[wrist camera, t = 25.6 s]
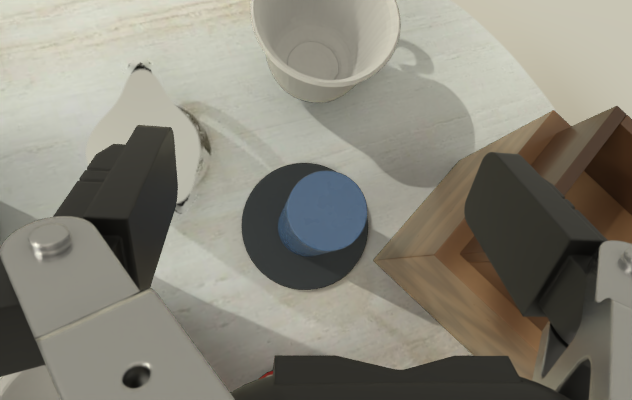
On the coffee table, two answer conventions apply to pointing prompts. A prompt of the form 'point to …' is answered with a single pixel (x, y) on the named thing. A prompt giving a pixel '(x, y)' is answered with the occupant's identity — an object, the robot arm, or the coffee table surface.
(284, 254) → the coaster
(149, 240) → the robot arm
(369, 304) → the coffee table surface
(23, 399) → the dish
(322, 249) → the blue tin
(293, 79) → the teacup
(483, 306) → the bin
